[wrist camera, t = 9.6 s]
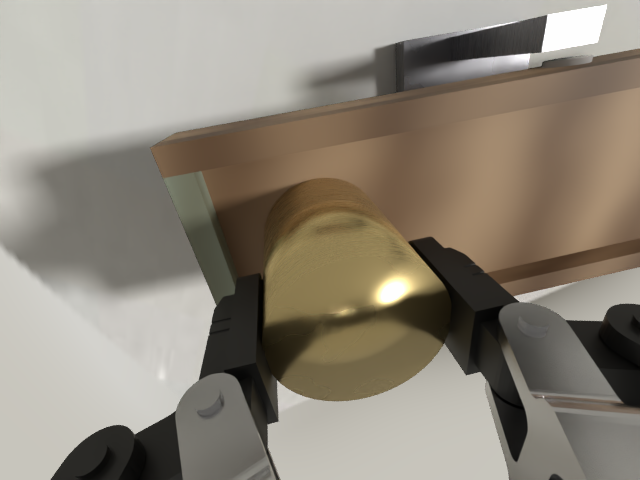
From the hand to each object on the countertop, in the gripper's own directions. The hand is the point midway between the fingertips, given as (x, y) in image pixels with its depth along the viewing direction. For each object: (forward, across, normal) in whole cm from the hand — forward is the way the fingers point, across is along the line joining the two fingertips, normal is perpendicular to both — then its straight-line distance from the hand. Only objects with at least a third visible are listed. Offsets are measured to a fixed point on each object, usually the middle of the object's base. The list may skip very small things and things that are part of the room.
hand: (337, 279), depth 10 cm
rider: (+3, 0, 0) cm, 3 cm away
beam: (+5, -11, 0) cm, 12 cm away
